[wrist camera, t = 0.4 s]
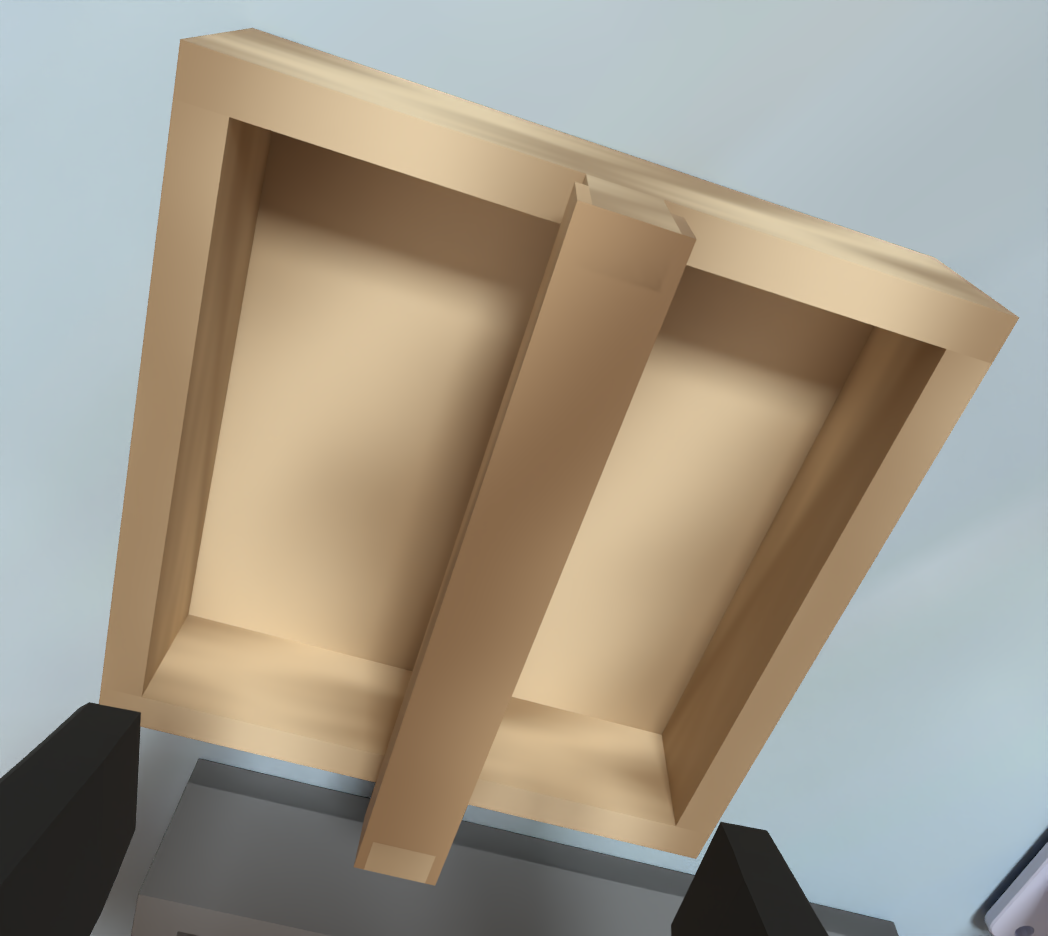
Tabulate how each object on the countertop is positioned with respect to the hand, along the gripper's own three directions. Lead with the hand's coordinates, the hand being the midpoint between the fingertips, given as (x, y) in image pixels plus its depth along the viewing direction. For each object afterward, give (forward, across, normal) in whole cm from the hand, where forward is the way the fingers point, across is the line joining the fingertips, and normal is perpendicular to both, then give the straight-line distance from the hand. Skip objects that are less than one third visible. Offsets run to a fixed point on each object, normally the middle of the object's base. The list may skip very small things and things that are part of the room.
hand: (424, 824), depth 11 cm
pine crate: (+9, 0, 0) cm, 9 cm away
